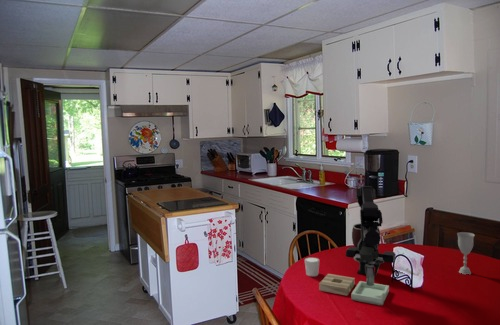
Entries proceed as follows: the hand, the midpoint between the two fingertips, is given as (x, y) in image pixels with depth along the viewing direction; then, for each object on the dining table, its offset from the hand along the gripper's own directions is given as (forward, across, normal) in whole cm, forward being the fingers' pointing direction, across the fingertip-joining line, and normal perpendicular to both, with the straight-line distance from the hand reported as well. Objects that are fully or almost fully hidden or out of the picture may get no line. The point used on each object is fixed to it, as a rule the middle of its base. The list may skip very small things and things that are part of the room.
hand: (370, 274), depth 161 cm
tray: (+9, 0, 0) cm, 9 cm away
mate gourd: (+9, -11, +43) cm, 45 cm away
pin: (+4, 0, 0) cm, 4 cm away
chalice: (+9, +34, +42) cm, 54 cm away
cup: (+9, -29, +12) cm, 33 cm away
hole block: (+9, -14, +2) cm, 17 cm away
